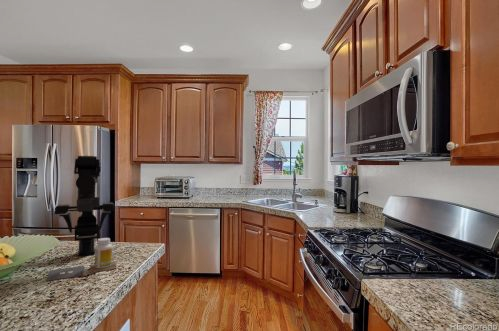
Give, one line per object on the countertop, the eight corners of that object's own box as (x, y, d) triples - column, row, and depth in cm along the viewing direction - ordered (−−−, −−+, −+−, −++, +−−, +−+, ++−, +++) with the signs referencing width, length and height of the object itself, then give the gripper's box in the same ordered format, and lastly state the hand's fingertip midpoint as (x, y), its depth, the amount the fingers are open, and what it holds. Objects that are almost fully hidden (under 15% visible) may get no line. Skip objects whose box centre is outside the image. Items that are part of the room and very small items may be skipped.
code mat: (50, 270, 93) (50, 270, 93) (84, 266, 98) (84, 265, 98) (45, 281, 85) (45, 280, 85) (82, 275, 89) (82, 275, 89)
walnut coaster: (90, 265, 99) (90, 264, 99) (115, 262, 103) (115, 261, 103) (90, 272, 92) (90, 271, 92) (116, 268, 96) (116, 267, 96)
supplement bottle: (114, 264, 100) (115, 237, 100) (105, 269, 95) (106, 241, 95) (100, 263, 101) (101, 236, 101) (91, 268, 95) (91, 240, 95)
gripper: (52, 191, 90) (51, 238, 90) (115, 190, 99) (114, 233, 99) (57, 189, 100) (56, 232, 99) (114, 188, 109) (113, 227, 108)
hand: (85, 231), depth 101 cm, fingers open, 9 cm apart
